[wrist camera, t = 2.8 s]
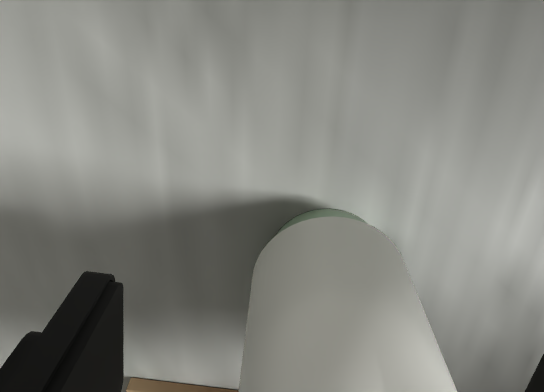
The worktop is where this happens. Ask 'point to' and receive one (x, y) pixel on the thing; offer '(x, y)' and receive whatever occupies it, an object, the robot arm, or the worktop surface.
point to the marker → (337, 314)
